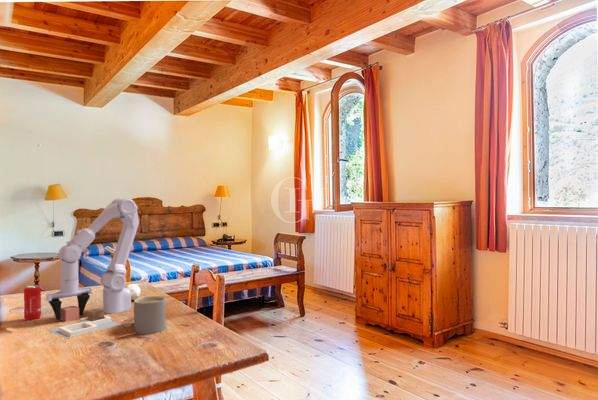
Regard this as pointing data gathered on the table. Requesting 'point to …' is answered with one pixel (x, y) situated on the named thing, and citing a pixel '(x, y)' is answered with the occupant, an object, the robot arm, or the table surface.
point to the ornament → (134, 291)
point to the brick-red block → (69, 313)
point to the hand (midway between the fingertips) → (69, 317)
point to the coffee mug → (149, 314)
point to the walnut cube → (95, 314)
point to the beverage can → (32, 302)
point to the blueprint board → (84, 327)
